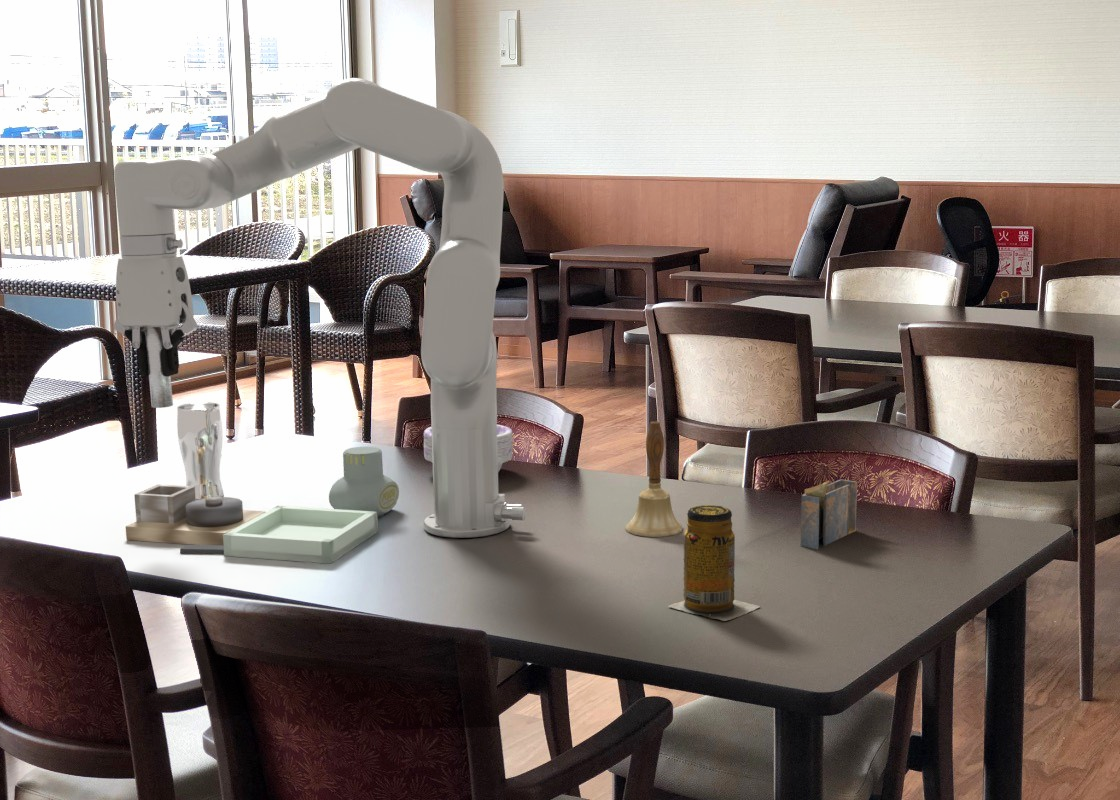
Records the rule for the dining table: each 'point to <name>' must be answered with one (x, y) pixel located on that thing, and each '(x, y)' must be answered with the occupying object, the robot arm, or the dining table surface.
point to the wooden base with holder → (185, 516)
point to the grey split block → (828, 512)
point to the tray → (301, 534)
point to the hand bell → (654, 495)
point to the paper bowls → (502, 444)
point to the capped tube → (157, 369)
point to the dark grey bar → (203, 549)
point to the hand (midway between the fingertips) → (159, 373)
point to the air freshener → (364, 483)
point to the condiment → (710, 565)
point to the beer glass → (201, 447)
